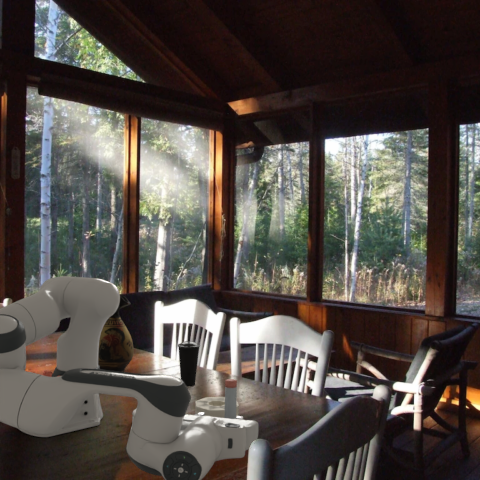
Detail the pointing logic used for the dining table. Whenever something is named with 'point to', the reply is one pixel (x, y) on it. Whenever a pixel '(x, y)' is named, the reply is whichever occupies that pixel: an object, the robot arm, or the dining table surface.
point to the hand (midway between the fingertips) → (221, 417)
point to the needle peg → (230, 398)
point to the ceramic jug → (115, 342)
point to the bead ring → (213, 406)
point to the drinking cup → (188, 360)
